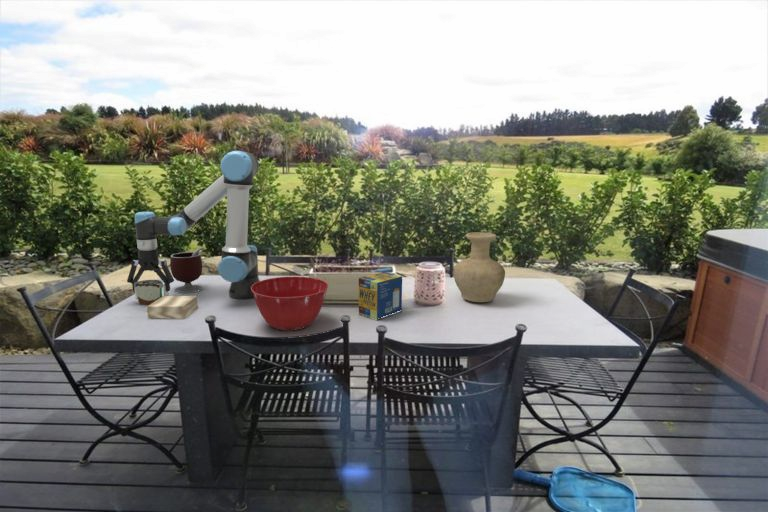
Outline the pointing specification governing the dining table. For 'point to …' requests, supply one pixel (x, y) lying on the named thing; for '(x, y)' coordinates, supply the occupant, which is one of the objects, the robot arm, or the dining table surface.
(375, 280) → the protein box
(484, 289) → the vase
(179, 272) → the mate gourd
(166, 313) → the birch platform
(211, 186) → the robot arm
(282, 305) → the mixing bowl
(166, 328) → the dining table surface
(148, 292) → the food container
